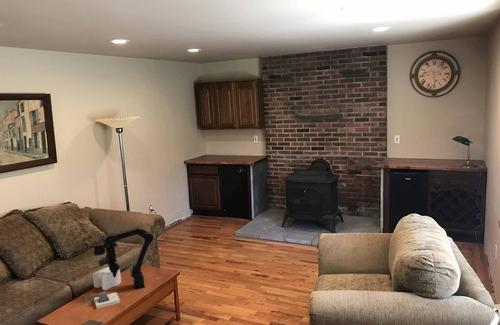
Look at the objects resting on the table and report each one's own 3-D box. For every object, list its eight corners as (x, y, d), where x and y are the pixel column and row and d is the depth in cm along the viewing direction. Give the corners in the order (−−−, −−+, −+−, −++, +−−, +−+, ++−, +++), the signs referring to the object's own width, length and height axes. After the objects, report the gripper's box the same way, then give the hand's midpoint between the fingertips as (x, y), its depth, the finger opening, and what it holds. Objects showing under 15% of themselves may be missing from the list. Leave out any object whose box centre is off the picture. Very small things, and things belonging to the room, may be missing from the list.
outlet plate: (116, 295, 264) (116, 292, 264) (120, 302, 254) (119, 299, 254) (94, 300, 258) (93, 297, 258) (96, 308, 247) (96, 305, 247)
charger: (106, 299, 258) (105, 291, 257) (107, 302, 254) (106, 293, 253) (99, 301, 256) (98, 292, 255) (100, 304, 252) (99, 295, 251)
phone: (84, 298, 262) (84, 297, 262) (107, 293, 269) (106, 291, 268) (85, 303, 256) (85, 301, 256) (108, 297, 262) (108, 296, 262)
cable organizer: (102, 292, 269) (100, 276, 267) (93, 288, 275) (91, 272, 273) (121, 284, 281) (120, 268, 279) (112, 280, 287) (110, 265, 285)
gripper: (96, 251, 269) (98, 273, 272) (100, 260, 253) (102, 283, 256) (113, 247, 275) (115, 269, 277) (118, 256, 258) (120, 279, 261)
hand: (113, 275), depth 267 cm, fingers open, 9 cm apart
